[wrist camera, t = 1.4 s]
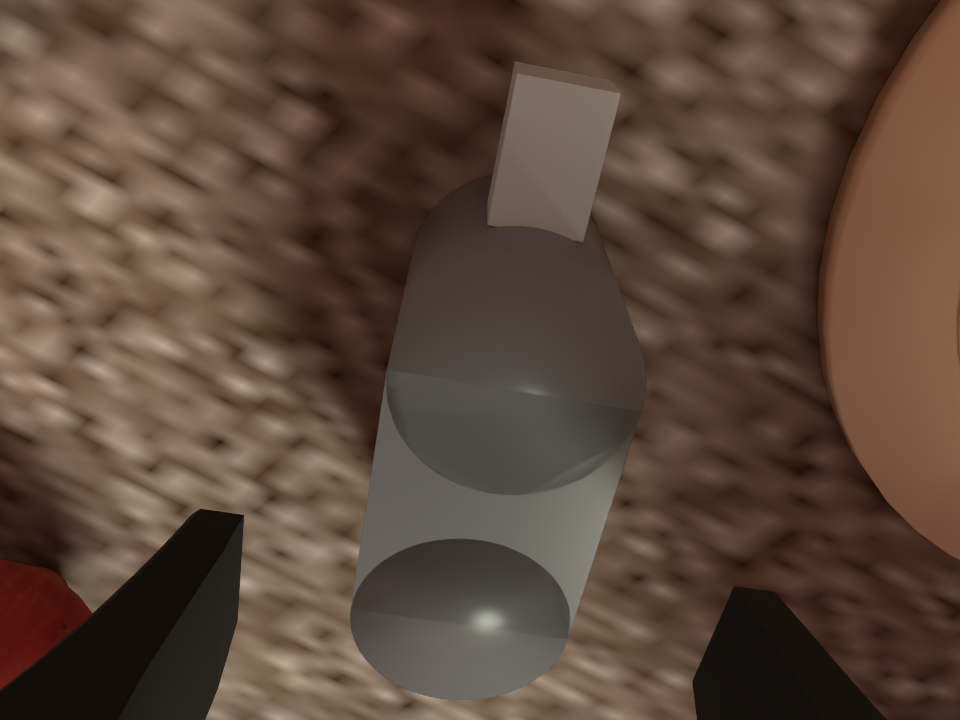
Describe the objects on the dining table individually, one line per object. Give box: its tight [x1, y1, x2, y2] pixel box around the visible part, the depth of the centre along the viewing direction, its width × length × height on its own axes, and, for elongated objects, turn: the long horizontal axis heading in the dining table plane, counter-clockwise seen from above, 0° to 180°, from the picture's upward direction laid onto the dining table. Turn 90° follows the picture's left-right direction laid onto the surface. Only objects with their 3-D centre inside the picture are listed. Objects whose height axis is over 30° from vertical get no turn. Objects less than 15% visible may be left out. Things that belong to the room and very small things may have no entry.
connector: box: [350, 61, 646, 700], centre depth 16 cm, size 11×4×5 cm, turn 170°
